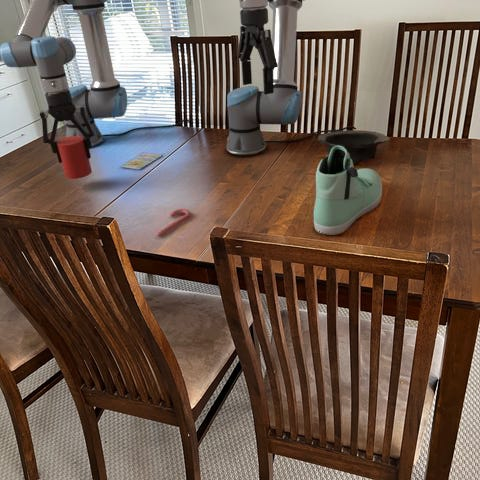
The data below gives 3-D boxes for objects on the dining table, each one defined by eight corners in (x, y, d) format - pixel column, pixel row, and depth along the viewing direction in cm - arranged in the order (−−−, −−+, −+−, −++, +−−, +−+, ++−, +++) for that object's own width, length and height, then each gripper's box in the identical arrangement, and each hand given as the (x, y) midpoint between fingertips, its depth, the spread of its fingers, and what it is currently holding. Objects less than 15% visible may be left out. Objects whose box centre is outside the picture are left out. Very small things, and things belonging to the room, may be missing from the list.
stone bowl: (346, 175, 157) (346, 148, 153) (303, 158, 178) (302, 133, 173) (403, 157, 166) (405, 130, 162) (356, 142, 186) (356, 118, 182)
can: (61, 174, 164) (52, 141, 158) (84, 166, 168) (76, 134, 162) (72, 181, 158) (63, 147, 152) (96, 172, 163) (88, 139, 156)
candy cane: (144, 233, 135) (143, 228, 134) (179, 210, 145) (179, 206, 144) (160, 238, 132) (159, 233, 131) (195, 214, 142) (194, 210, 141)
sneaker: (389, 187, 148) (396, 123, 138) (356, 242, 123) (361, 168, 112) (346, 181, 154) (350, 119, 144) (306, 232, 129) (307, 161, 118)
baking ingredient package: (119, 165, 178) (143, 152, 189) (120, 167, 178) (143, 153, 189) (139, 168, 174) (162, 154, 185) (139, 169, 174) (162, 155, 186)
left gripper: (19, 98, 144) (40, 168, 155) (92, 89, 147) (107, 158, 159) (22, 92, 150) (43, 160, 162) (92, 83, 154) (107, 150, 165)
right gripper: (222, 7, 137) (228, 82, 148) (263, 13, 117) (266, 100, 128) (245, 4, 140) (250, 78, 151) (289, 9, 120) (290, 95, 131)
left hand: (75, 159), depth 160 cm, fingers closed on can, 9 cm apart
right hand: (257, 88), depth 140 cm, fingers open, 13 cm apart
